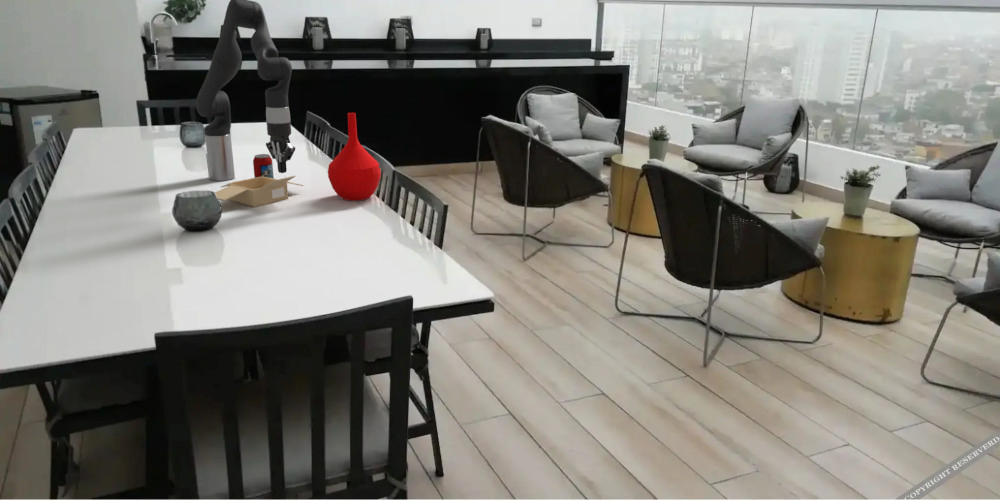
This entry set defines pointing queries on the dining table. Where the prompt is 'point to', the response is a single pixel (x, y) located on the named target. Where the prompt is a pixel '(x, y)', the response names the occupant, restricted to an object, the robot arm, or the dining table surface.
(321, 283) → the dining table surface
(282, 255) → the dining table surface
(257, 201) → the carton
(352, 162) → the vase
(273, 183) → the front flap
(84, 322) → the dining table surface
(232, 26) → the robot arm
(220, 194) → the right flap
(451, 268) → the dining table surface
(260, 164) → the beverage can
